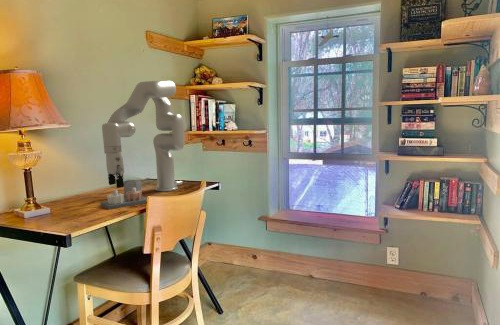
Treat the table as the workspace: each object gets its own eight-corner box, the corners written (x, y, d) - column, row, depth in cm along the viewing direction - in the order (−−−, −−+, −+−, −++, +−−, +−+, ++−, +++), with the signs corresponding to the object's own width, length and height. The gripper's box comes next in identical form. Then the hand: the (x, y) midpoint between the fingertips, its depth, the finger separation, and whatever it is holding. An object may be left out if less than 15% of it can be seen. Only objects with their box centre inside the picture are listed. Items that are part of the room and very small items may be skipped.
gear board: (140, 198, 191) (139, 185, 190) (150, 202, 183) (149, 187, 182) (100, 205, 178) (99, 190, 177) (108, 209, 170) (107, 194, 169)
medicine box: (142, 196, 196) (141, 180, 195) (137, 198, 192) (136, 181, 191) (129, 195, 199) (128, 179, 198) (124, 197, 195) (123, 181, 193)
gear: (120, 199, 182) (120, 192, 182) (126, 202, 177) (126, 194, 177) (105, 202, 178) (105, 194, 177) (111, 204, 172) (110, 197, 172)
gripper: (128, 150, 170) (131, 187, 173) (114, 147, 183) (117, 182, 186) (111, 152, 166) (115, 190, 168) (98, 149, 179) (101, 184, 181)
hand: (116, 185), depth 177 cm, fingers open, 9 cm apart
